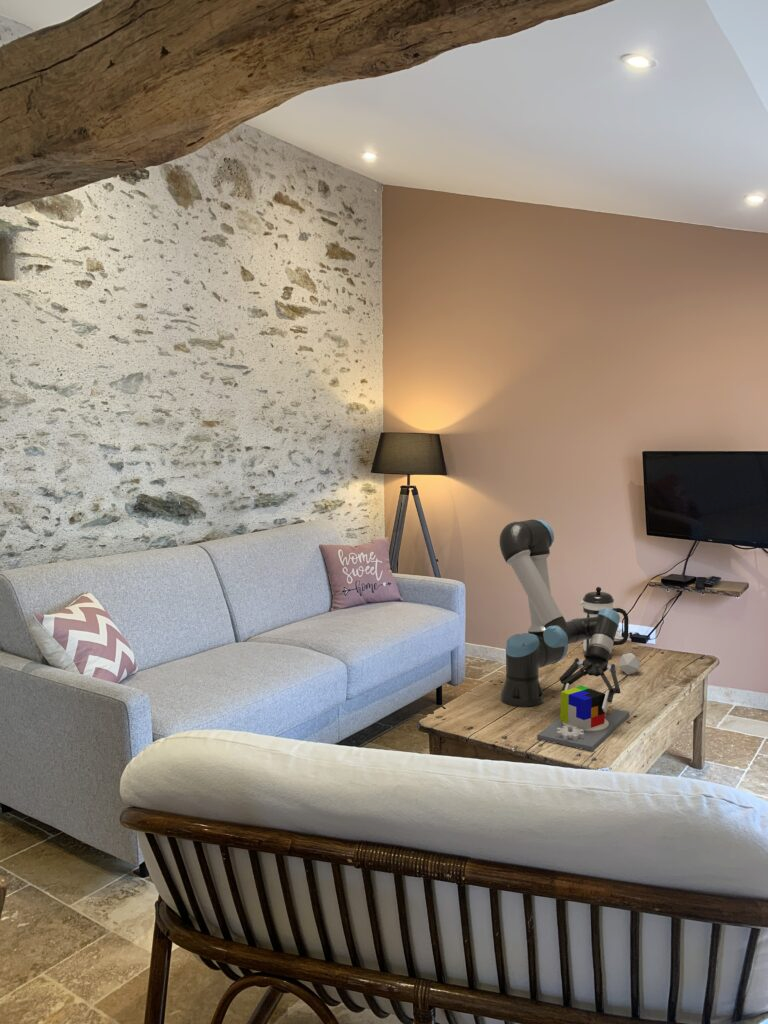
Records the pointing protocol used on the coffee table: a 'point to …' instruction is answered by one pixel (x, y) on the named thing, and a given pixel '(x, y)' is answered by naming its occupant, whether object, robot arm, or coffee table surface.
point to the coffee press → (592, 607)
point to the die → (629, 663)
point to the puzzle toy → (582, 707)
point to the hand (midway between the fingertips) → (583, 706)
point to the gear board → (584, 731)
